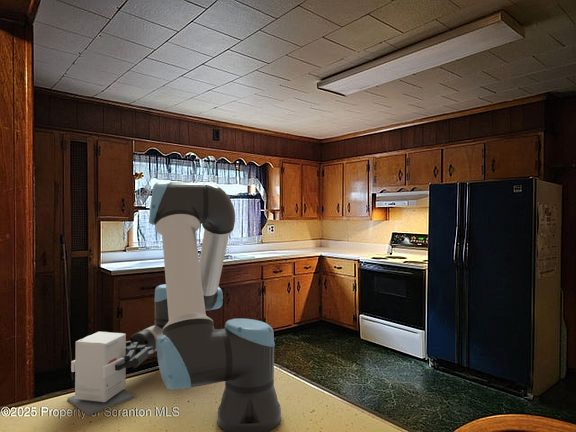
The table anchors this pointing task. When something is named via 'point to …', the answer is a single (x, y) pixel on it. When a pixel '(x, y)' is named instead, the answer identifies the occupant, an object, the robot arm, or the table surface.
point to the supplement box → (99, 366)
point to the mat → (97, 406)
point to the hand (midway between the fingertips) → (87, 369)
